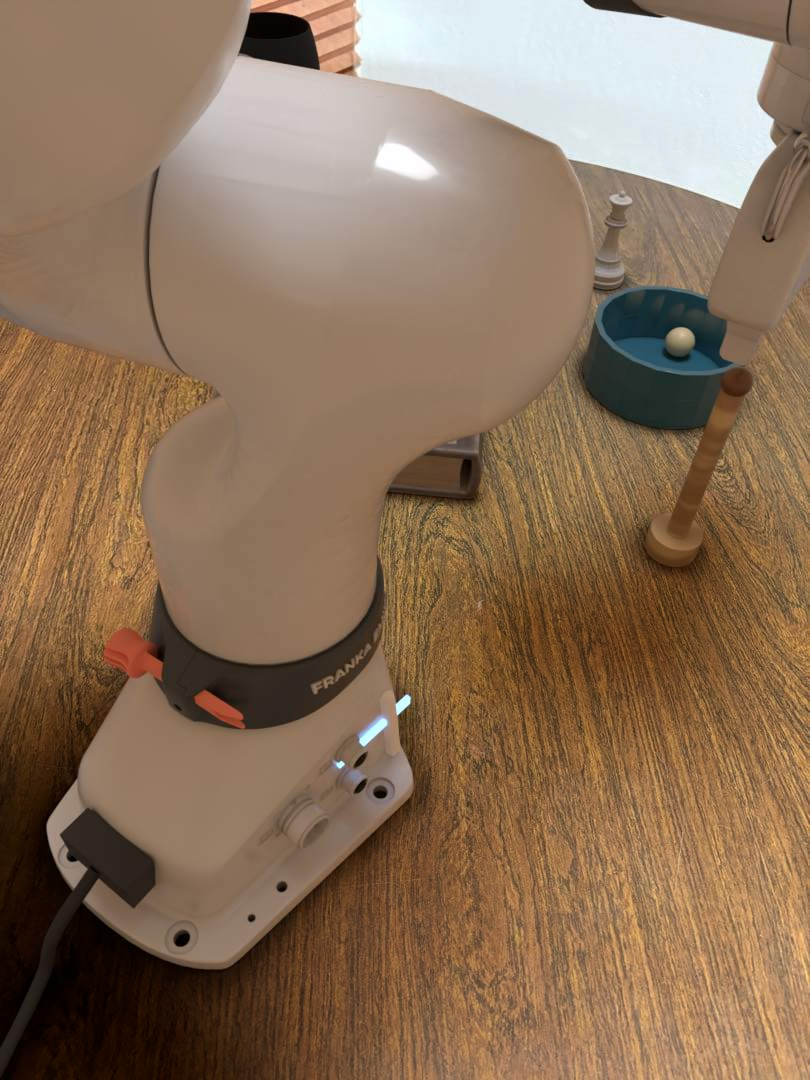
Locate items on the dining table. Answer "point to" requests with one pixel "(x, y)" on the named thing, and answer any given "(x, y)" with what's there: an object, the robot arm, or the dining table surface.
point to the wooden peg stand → (698, 477)
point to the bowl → (656, 357)
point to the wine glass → (280, 39)
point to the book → (441, 469)
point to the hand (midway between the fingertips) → (761, 319)
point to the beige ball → (679, 342)
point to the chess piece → (612, 246)
